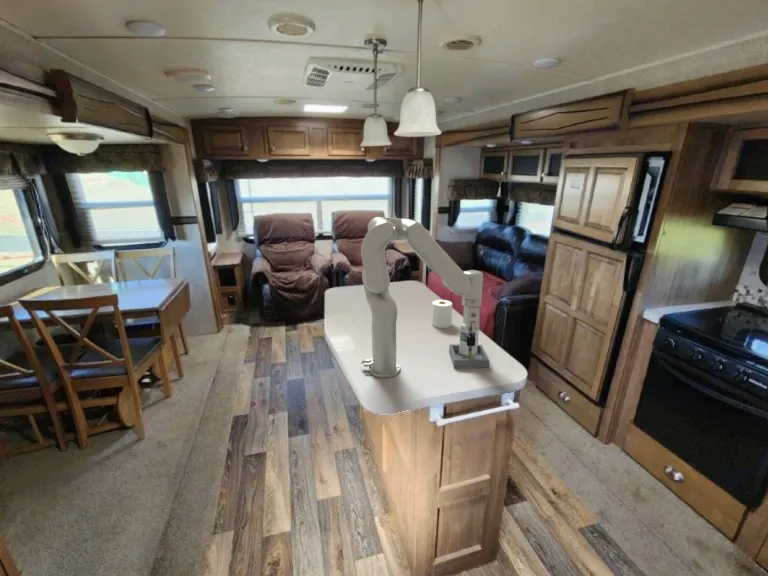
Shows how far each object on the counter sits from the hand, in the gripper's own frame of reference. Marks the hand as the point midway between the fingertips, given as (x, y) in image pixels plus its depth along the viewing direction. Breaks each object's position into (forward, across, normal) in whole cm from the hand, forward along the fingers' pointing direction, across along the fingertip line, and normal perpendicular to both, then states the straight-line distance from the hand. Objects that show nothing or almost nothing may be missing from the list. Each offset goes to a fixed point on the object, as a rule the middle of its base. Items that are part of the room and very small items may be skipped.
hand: (468, 340), depth 145 cm
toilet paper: (+9, +38, +7) cm, 40 cm away
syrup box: (+7, 0, 0) cm, 7 cm away
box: (+9, 0, 0) cm, 9 cm away
